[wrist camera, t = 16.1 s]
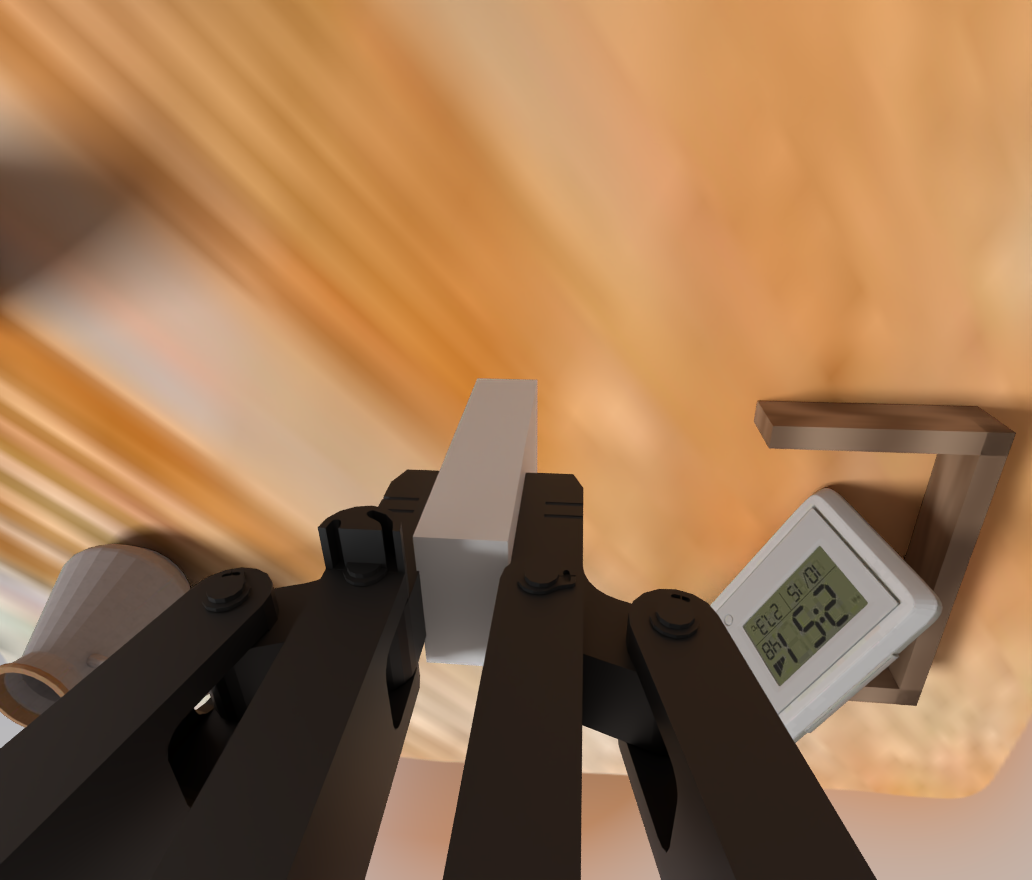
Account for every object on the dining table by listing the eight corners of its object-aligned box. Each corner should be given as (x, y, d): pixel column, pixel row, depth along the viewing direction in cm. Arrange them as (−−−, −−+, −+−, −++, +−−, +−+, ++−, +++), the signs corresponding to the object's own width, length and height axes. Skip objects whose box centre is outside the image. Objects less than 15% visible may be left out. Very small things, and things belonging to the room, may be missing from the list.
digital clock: (828, 469, 43) (896, 564, 33) (913, 544, 44) (1001, 655, 35) (658, 602, 49) (674, 714, 40) (738, 663, 51) (772, 784, 41)
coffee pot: (133, 642, 58) (-6, 794, 45) (59, 543, 54) (-120, 678, 40) (332, 600, 53) (242, 757, 39) (268, 487, 48) (143, 620, 35)
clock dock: (716, 652, 50) (726, 691, 47) (757, 400, 41) (772, 425, 37) (892, 664, 49) (916, 705, 45) (977, 406, 39) (1015, 433, 36)
